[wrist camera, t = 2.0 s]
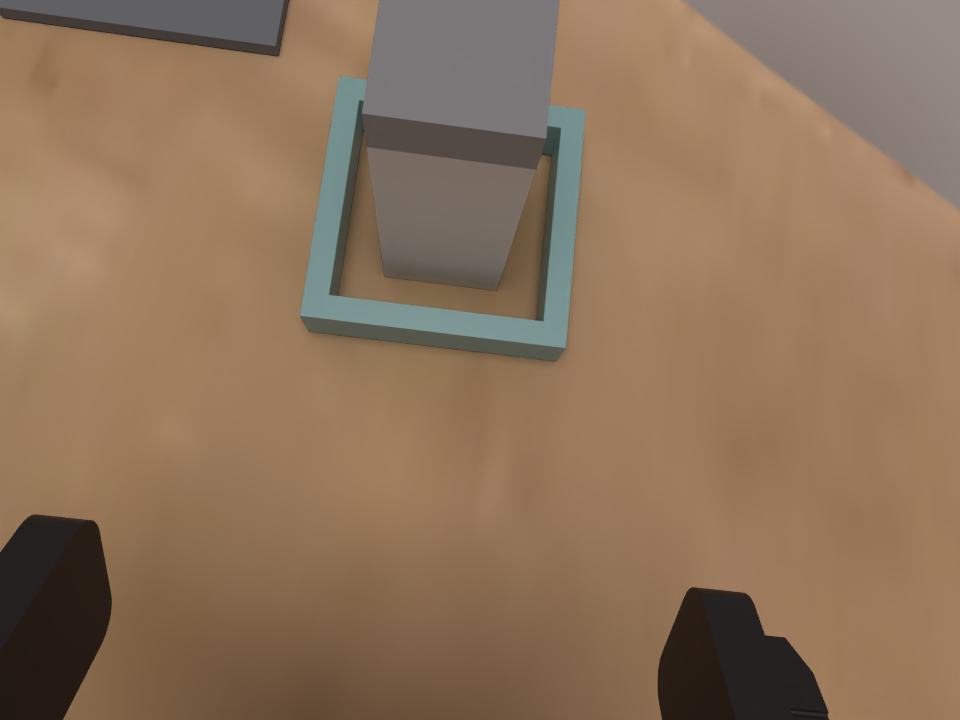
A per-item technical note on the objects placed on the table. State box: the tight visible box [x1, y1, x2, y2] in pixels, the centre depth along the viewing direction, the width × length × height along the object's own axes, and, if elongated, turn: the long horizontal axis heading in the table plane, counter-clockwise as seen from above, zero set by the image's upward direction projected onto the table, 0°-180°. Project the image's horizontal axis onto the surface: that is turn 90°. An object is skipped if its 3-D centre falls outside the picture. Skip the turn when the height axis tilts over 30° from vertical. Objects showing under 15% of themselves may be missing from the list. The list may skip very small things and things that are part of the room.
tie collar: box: [300, 76, 586, 361], centre depth 27 cm, size 9×9×2 cm
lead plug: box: [362, 0, 559, 291], centre depth 23 cm, size 4×4×11 cm
